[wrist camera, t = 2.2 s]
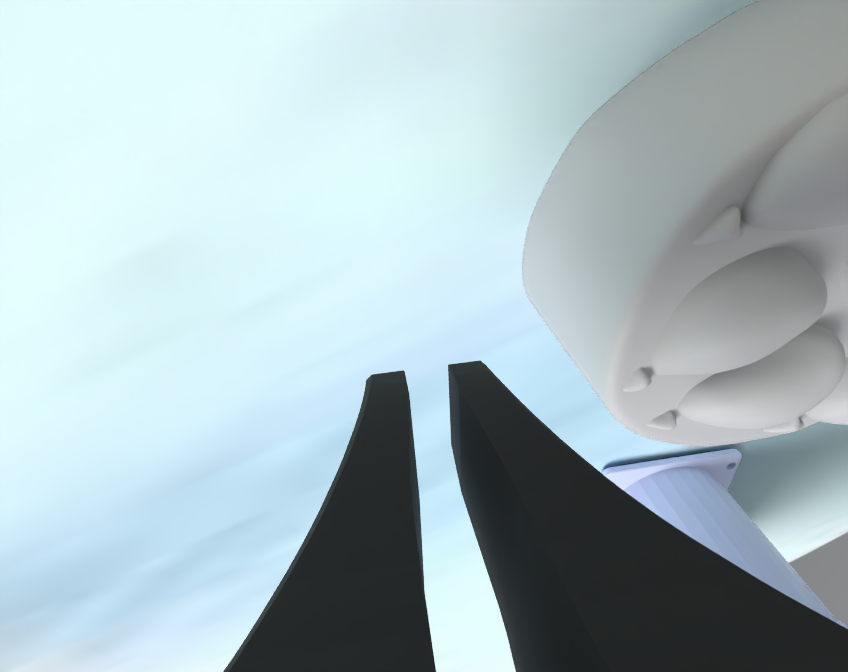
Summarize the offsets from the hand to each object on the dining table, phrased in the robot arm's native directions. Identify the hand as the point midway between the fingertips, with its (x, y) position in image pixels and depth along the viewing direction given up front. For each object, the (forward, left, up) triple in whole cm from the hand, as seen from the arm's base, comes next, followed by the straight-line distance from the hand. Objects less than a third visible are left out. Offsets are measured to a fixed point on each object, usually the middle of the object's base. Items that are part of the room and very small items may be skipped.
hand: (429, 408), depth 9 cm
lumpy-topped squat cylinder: (0, -11, -10) cm, 15 cm away
